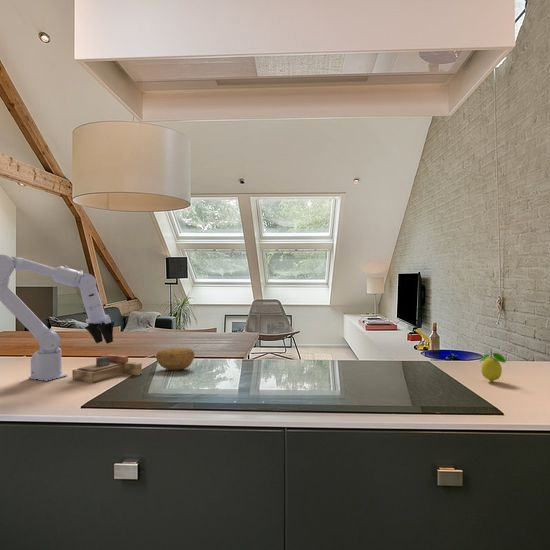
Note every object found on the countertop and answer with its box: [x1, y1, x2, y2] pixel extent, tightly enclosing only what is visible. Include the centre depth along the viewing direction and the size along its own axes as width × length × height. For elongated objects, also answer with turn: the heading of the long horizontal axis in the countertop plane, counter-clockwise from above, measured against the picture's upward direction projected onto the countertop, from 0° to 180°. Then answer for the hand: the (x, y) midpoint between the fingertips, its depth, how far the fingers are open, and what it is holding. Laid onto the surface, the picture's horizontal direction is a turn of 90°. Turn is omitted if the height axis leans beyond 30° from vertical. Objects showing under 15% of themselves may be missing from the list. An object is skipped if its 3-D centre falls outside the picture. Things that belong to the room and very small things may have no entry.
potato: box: [155, 346, 196, 371], centre depth 148 cm, size 10×14×8 cm
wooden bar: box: [105, 354, 129, 363], centre depth 145 cm, size 9×2×2 cm, turn 64°
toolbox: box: [71, 361, 143, 384], centre depth 139 cm, size 16×16×4 cm
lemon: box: [479, 350, 507, 383], centre depth 126 cm, size 7×6×10 cm
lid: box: [78, 355, 126, 372], centre depth 140 cm, size 7×13×3 cm, turn 154°
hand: (104, 342), depth 148 cm, fingers open, 7 cm apart
